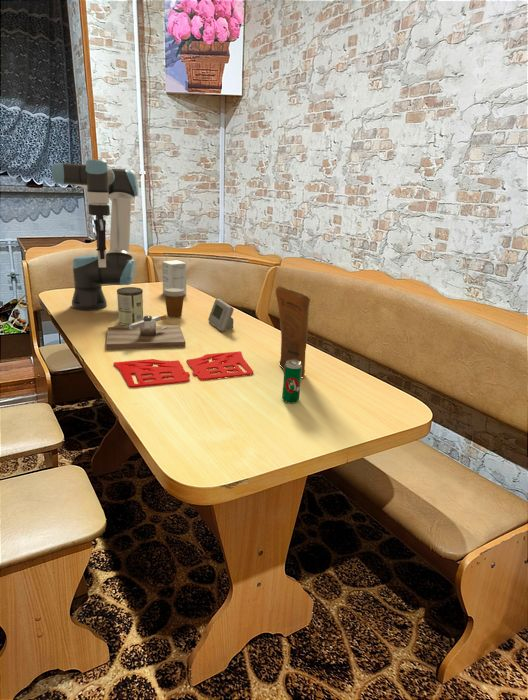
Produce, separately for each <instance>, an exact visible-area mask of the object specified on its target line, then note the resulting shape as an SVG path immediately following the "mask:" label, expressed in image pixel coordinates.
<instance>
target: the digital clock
mask: <svg viewBox="0 0 528 700" xmlns="http://www.w3.org/2000/svg"><path fill="white" fill-rule="evenodd" d="M210 310H211V311H210V313H209V317H208V319H207V321H208V322H209V323H210V324H211V326H214V327H215V328H216V329H217V330H219V331H221V332H226V331H227V330H232V328H233V329H234V318H233V317H232V316H233V313H234V307H233V306H231V305H230V304H229V303H227V302H226V301H224V300H222V299H220V298H216V299H215V300H214V302H213V305H212V308H211V309H210Z"/></svg>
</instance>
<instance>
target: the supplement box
mask: <svg viewBox="0 0 528 700" xmlns="http://www.w3.org/2000/svg"><path fill="white" fill-rule="evenodd" d="M161 265H162V266H161V270H162V272H161V273H162V293H163V292H164V289H165V288H169V287H178V288H183V289H184V291H185V295H184V296H186V295H187V263H186V262H184V261H181V260H177V259H175V260H166V261H165V260H164V261H161Z"/></svg>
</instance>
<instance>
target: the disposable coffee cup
mask: <svg viewBox="0 0 528 700" xmlns="http://www.w3.org/2000/svg"><path fill="white" fill-rule="evenodd" d="M162 293H163V295H164V300H165V301H164V302H165V309H166V317H169V318H180V317H182V314H183V307H184V306H183V305H184V298H185V296H186V295H185V291H184V289H183V288H178V287H169V288H165V289H164V292H163V291H162Z"/></svg>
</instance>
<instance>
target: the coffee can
mask: <svg viewBox="0 0 528 700" xmlns="http://www.w3.org/2000/svg"><path fill="white" fill-rule="evenodd" d="M143 291H144V290H143V288H141V287H135V286H134V287H133V286H127V287H126V286H125V287H119V288H117V289H116V295H117V315H118V324H119V325H121V326H123V327H129V324H132V323H136V322H139V321H140V319H141V318H144V306H143V305H144V300H143V299H144V298H143Z"/></svg>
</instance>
